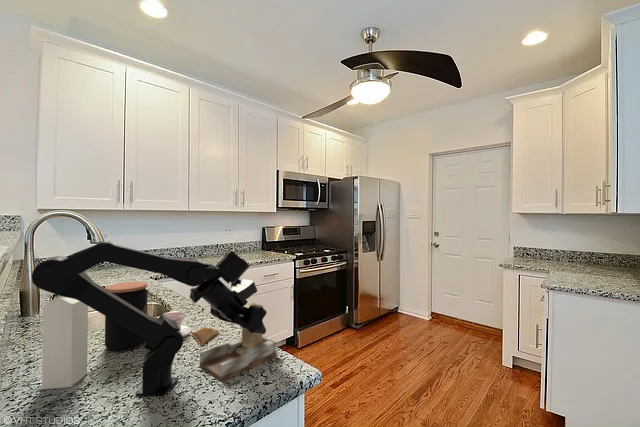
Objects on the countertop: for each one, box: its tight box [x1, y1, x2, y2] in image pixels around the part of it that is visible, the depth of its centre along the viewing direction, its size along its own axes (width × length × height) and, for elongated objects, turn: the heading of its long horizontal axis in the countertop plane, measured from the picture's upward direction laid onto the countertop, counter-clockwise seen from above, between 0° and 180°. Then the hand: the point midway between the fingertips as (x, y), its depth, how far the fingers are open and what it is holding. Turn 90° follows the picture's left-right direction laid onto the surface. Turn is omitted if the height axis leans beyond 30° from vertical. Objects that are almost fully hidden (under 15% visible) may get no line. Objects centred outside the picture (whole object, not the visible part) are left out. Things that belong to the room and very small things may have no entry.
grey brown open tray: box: [199, 336, 278, 382], centre depth 81 cm, size 17×11×4 cm, turn 139°
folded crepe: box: [191, 327, 220, 347], centre depth 96 cm, size 11×8×2 cm
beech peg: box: [236, 302, 264, 355], centre depth 84 cm, size 6×6×13 cm
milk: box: [41, 295, 89, 390], centre depth 70 cm, size 6×6×22 cm
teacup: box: [163, 310, 193, 338], centre depth 99 cm, size 12×12×6 cm
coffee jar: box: [104, 281, 148, 353], centre depth 90 cm, size 11×11×18 cm
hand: (254, 328), depth 84 cm, fingers open, 9 cm apart
